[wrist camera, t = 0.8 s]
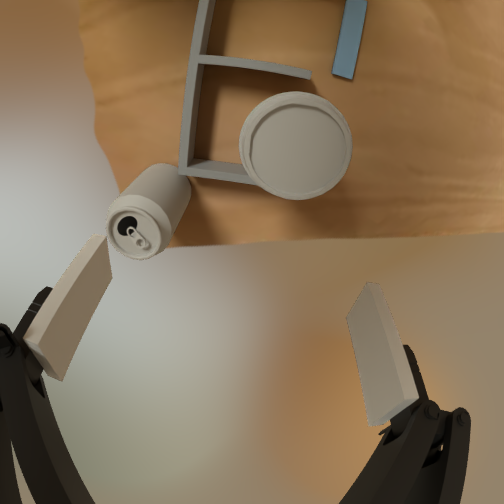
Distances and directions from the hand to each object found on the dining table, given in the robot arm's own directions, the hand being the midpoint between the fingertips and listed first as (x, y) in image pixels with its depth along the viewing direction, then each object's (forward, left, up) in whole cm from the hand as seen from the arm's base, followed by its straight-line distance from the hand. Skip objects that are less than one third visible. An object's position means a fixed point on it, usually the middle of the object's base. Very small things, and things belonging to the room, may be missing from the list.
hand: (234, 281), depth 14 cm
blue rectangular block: (-17, +9, -24) cm, 30 cm away
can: (+7, -10, -24) cm, 27 cm away
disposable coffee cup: (-4, +4, -24) cm, 24 cm away
